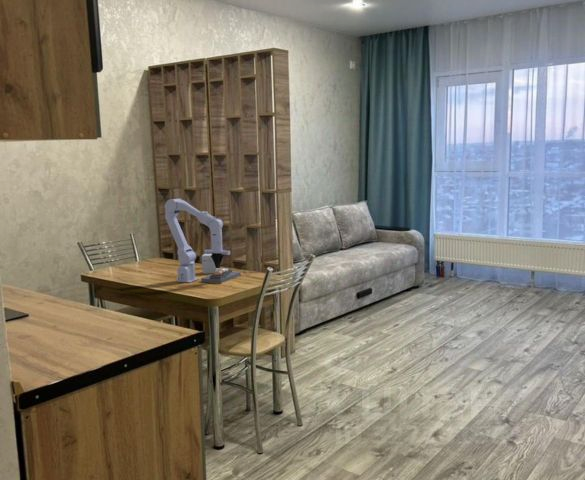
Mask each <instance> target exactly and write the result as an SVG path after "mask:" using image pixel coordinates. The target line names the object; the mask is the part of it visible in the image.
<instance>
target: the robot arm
mask: <svg viewBox="0 0 585 480" xmlns="http://www.w3.org/2000/svg"><path fill="white" fill-rule="evenodd" d="M164 210H165V211H164V212H165V216H164V217H165V220H166V222H167V225H168V228H169V230H170V232H171V235H172V237H173V240H174V241H175V244H176V247H177V252H176V254H177V255H178V256H177V258H178V262H179V264H180V266H178V268H177V270H176V271H177V280H176V282H178V283H191V282H194V281H197V280H199V277H196V268H195V267H196V266H195V261H196V259H197V254H196V252H195V251H194V250H193V248H192V247H191V246H190V245H189V244H188V242H187V239H186V237H185V235H184V232H183V230H182V228H181V225H180V223H179V220H178V218H177V217H178V215H179V213H180V212H181V211H185V212H186V213H188V214H191V215H192V216H193V217H196V218H197V221H199V222H200V223H201V224H204V225H205V226H206V227H208V228H209V230H210V240H211V241H210V245H211V247H210V248H211V249H204V253H203V254H212V255H211V258H212V259H213V261H214V264H215V267H216V268H218V269H219V268H221V264H222V260H223V258H224V255H226V256H230V255H231V250H226V249H223V231H222V230H223V229H222V228H223V227H224V221H223V220H222V219H220V217H219V218H216V216H213V215H211V214H209V212H208V211H206V210H205V211H200V210H198V209H197V208H196V207H194V206H193V205H191V204H189V203H188V202H187V201H186V200H183V199H182V198H180V197H179V198H178V197H177V198H173V199H172V198H170V199H168V200H167V201H166V202H165V204H164Z"/></svg>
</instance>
